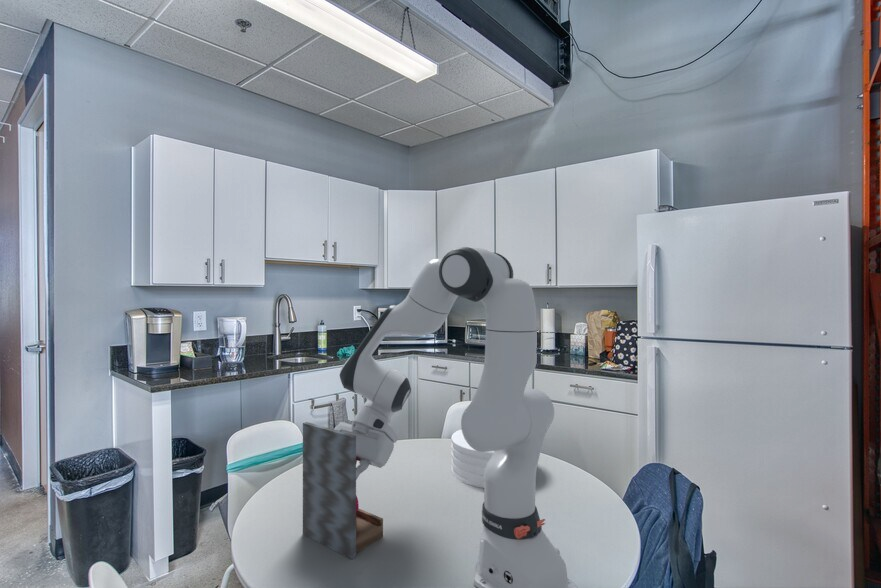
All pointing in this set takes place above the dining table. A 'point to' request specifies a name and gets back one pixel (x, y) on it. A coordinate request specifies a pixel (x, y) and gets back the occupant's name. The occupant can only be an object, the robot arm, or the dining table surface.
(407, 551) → the dining table surface
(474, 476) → the plate stack
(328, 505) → the ledge shelf
